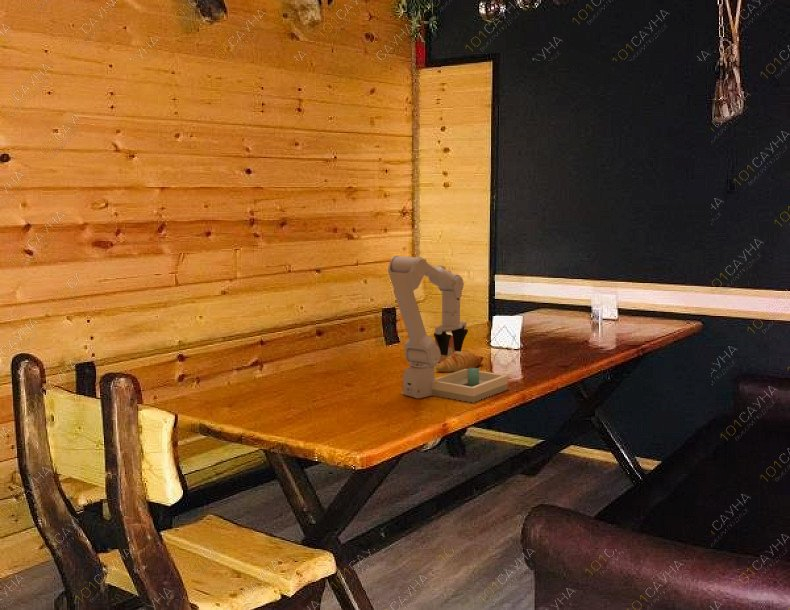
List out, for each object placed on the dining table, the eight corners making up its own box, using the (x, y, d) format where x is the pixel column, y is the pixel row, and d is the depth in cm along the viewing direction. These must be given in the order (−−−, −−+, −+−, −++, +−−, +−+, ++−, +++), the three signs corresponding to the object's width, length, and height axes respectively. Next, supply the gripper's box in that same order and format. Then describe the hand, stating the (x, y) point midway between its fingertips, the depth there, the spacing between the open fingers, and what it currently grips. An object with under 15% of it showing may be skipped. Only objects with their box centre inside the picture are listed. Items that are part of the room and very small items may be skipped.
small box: (434, 362, 298) (434, 333, 296) (440, 359, 303) (440, 331, 301) (454, 364, 294) (454, 335, 292) (461, 361, 299) (461, 332, 297)
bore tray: (473, 403, 242) (473, 388, 242) (429, 394, 252) (429, 380, 252) (507, 389, 258) (508, 375, 257) (465, 382, 268) (465, 368, 267)
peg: (465, 391, 256) (465, 369, 255) (470, 389, 259) (470, 367, 258) (475, 393, 254) (476, 370, 253) (481, 390, 257) (481, 368, 256)
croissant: (442, 384, 280) (449, 366, 275) (425, 366, 286) (431, 348, 282) (486, 374, 292) (494, 356, 288) (469, 357, 299) (476, 339, 295)
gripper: (448, 315, 255) (448, 358, 257) (474, 309, 266) (473, 350, 268) (429, 313, 260) (429, 355, 262) (456, 307, 271) (456, 348, 273)
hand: (451, 353), depth 265 cm, fingers open, 7 cm apart
